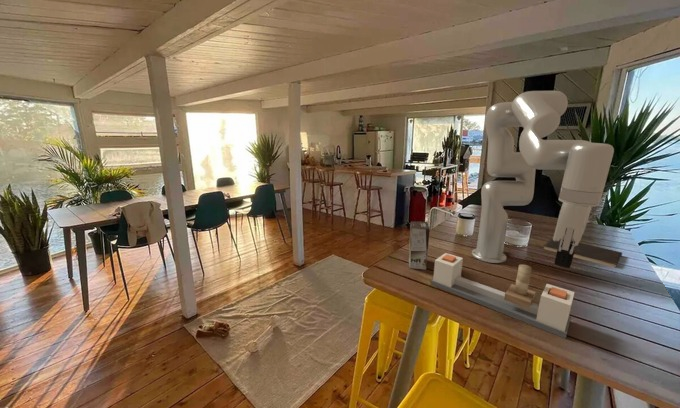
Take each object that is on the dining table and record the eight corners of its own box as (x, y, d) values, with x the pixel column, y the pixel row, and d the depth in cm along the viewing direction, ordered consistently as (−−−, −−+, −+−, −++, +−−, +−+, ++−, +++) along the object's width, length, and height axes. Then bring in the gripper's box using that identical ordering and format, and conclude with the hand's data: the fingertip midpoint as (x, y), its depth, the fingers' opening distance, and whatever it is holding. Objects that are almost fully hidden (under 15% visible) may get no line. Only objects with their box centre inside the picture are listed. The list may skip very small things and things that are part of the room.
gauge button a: (445, 263, 94) (446, 254, 93) (454, 266, 92) (456, 257, 91) (441, 266, 92) (442, 257, 91) (450, 270, 90) (452, 260, 89)
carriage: (510, 289, 83) (516, 259, 80) (534, 297, 79) (540, 266, 76) (504, 299, 78) (509, 267, 76) (528, 308, 74) (535, 275, 71)
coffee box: (426, 270, 103) (430, 229, 99) (409, 268, 104) (411, 228, 100) (424, 259, 111) (427, 221, 107) (408, 257, 113) (410, 220, 109)
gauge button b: (549, 298, 75) (552, 286, 74) (564, 303, 72) (567, 291, 72) (547, 303, 72) (549, 291, 72) (562, 308, 70) (565, 296, 69)
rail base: (442, 274, 99) (444, 251, 97) (570, 321, 75) (577, 292, 72) (430, 284, 93) (432, 260, 91) (565, 338, 69) (573, 307, 66)
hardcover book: (615, 269, 104) (616, 263, 103) (542, 250, 121) (543, 245, 120) (621, 257, 113) (622, 252, 113) (553, 240, 130) (554, 236, 130)
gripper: (564, 188, 73) (549, 251, 78) (554, 199, 63) (538, 271, 68) (602, 193, 68) (584, 260, 73) (599, 206, 57) (578, 282, 63)
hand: (562, 265), depth 70 cm, fingers closed
